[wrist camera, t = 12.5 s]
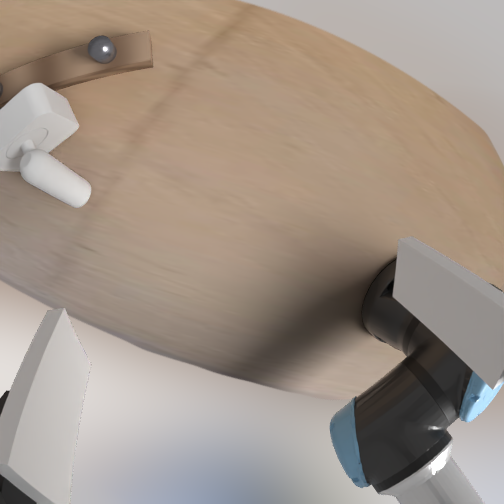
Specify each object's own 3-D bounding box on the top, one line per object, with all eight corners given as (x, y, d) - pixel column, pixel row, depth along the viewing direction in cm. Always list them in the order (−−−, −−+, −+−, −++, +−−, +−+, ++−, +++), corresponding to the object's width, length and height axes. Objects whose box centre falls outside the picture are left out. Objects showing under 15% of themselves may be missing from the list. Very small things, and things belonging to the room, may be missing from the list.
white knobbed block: (60, 224, 29) (11, 240, 20) (23, 148, 27) (-29, 139, 17) (117, 183, 30) (81, 182, 20) (77, 104, 27) (34, 78, 17)
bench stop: (151, 40, 25) (147, 20, 19) (153, 67, 26) (148, 53, 20) (-16, 92, 21) (-50, 91, 15) (-14, 117, 22) (-48, 120, 16)
